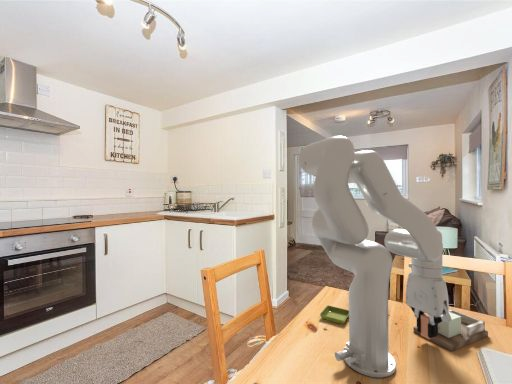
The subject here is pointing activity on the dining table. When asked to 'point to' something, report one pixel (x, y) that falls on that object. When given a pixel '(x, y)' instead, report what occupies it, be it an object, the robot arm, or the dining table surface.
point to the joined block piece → (442, 326)
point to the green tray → (335, 314)
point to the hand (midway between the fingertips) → (427, 333)
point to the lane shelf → (469, 333)
